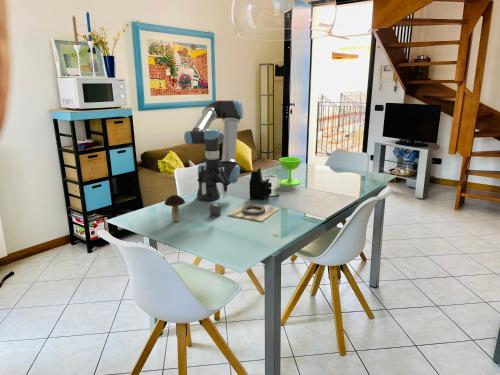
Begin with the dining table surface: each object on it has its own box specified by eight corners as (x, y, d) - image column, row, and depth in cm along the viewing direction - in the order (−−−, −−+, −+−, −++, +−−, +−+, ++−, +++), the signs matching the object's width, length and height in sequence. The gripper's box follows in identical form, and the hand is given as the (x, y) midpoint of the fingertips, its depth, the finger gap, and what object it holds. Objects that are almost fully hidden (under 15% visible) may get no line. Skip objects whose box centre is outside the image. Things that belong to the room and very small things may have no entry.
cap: (207, 216, 203) (207, 205, 201) (213, 212, 208) (213, 202, 206) (216, 217, 200) (216, 207, 199) (222, 214, 205) (222, 204, 204)
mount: (227, 215, 203) (227, 212, 202) (246, 204, 221) (246, 200, 221) (262, 222, 193) (262, 218, 192) (279, 209, 211) (279, 205, 210)
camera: (270, 201, 226) (270, 170, 220) (249, 200, 228) (248, 169, 223) (272, 196, 235) (272, 166, 229) (252, 195, 238) (251, 166, 232)
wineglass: (301, 185, 258) (302, 161, 253) (279, 186, 258) (279, 161, 253) (299, 180, 273) (299, 156, 268) (278, 180, 273) (278, 157, 268)
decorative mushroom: (177, 216, 204) (175, 191, 199) (190, 220, 197) (188, 194, 193) (162, 222, 195) (159, 195, 191) (175, 226, 189) (172, 199, 184)
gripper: (189, 157, 197) (192, 194, 203) (228, 161, 186) (229, 200, 192) (197, 155, 204) (199, 191, 209) (235, 158, 192) (236, 196, 198)
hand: (214, 195), depth 201 cm, fingers open, 13 cm apart
